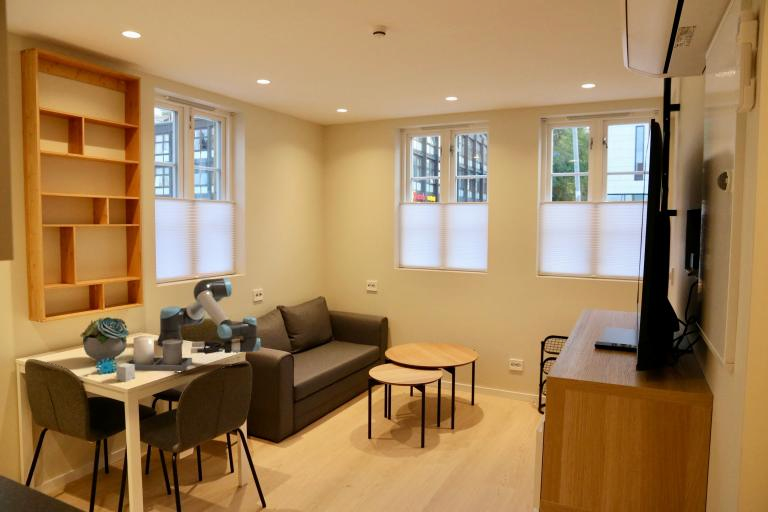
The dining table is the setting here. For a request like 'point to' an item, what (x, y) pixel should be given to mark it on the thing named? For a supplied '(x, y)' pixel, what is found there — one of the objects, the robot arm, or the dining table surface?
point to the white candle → (144, 350)
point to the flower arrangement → (105, 338)
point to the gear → (106, 366)
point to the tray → (159, 365)
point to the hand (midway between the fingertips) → (191, 347)
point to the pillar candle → (172, 352)
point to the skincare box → (125, 372)
